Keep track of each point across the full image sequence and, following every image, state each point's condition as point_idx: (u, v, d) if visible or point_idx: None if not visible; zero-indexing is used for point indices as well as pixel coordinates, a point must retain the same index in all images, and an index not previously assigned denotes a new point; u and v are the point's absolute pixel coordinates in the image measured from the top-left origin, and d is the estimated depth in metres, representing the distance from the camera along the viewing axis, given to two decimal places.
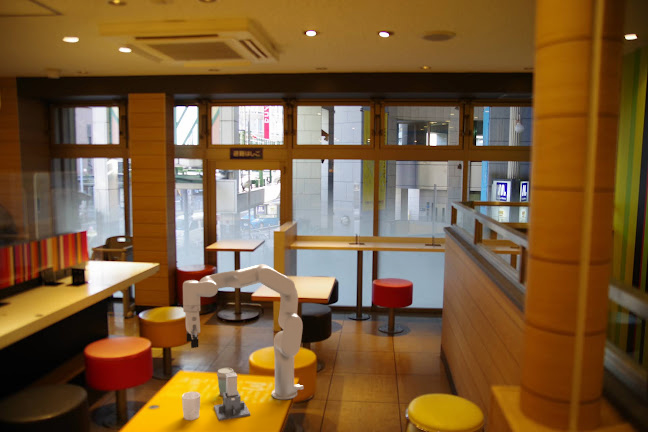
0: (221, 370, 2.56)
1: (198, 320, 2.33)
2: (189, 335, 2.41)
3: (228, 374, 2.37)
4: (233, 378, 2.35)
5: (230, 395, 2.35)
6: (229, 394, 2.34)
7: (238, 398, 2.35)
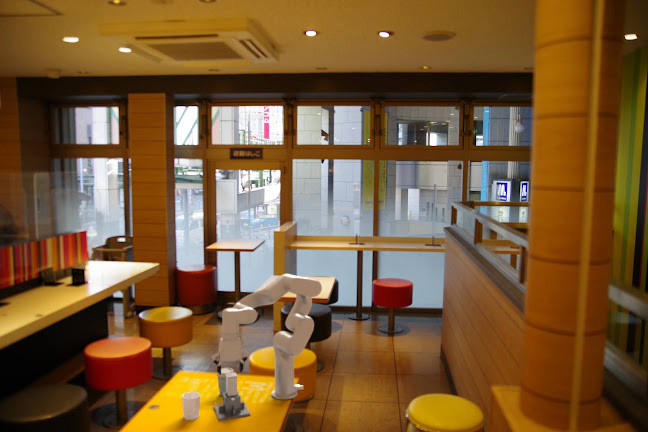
0: (221, 370, 2.56)
1: None
2: (220, 367, 2.34)
3: (228, 374, 2.37)
4: (233, 378, 2.35)
5: (230, 395, 2.35)
6: (229, 394, 2.34)
7: (238, 398, 2.35)
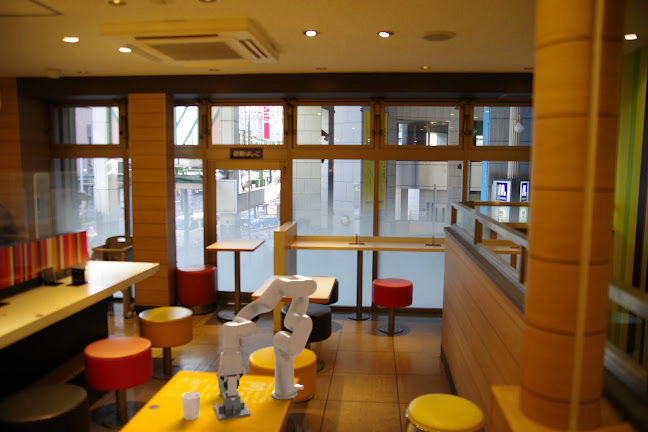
0: None
1: None
2: None
3: None
4: (233, 378, 2.35)
5: (230, 395, 2.35)
6: (229, 394, 2.34)
7: (238, 398, 2.35)
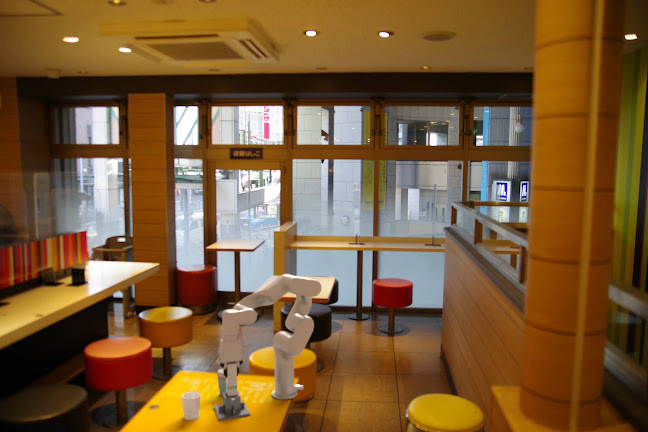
0: (221, 370, 2.56)
1: None
2: (226, 370, 2.35)
3: None
4: (233, 365, 2.34)
5: (230, 382, 2.34)
6: (229, 381, 2.34)
7: (238, 398, 2.35)
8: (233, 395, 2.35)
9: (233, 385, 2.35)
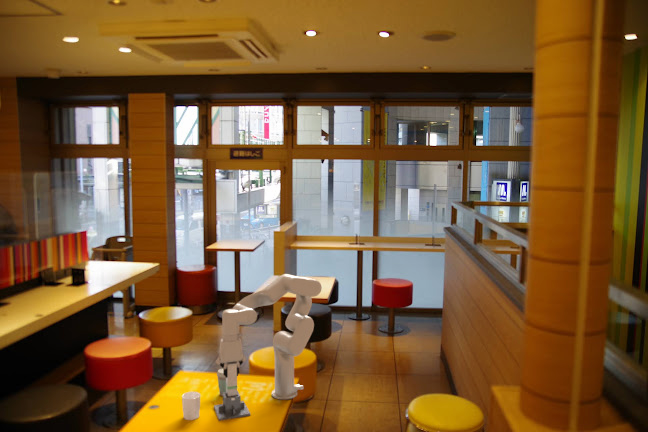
0: (221, 370, 2.56)
1: None
2: None
3: None
4: (233, 365, 2.34)
5: (230, 382, 2.34)
6: (229, 381, 2.34)
7: (238, 398, 2.35)
8: (233, 395, 2.35)
9: (233, 385, 2.35)
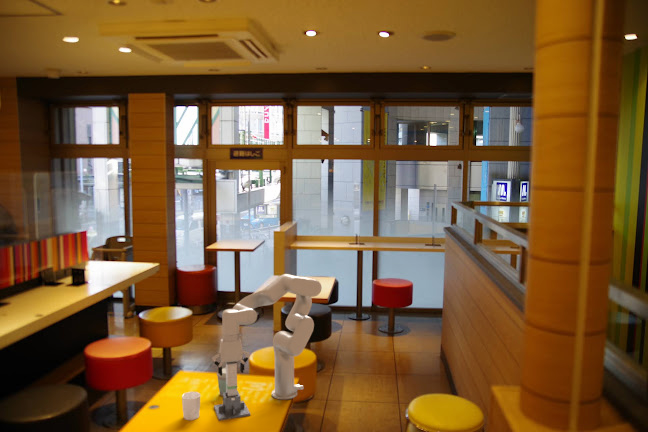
0: None
1: None
2: (221, 368, 2.34)
3: None
4: (233, 365, 2.34)
5: (230, 382, 2.34)
6: (229, 381, 2.34)
7: (238, 398, 2.35)
8: (233, 395, 2.35)
9: (233, 385, 2.35)
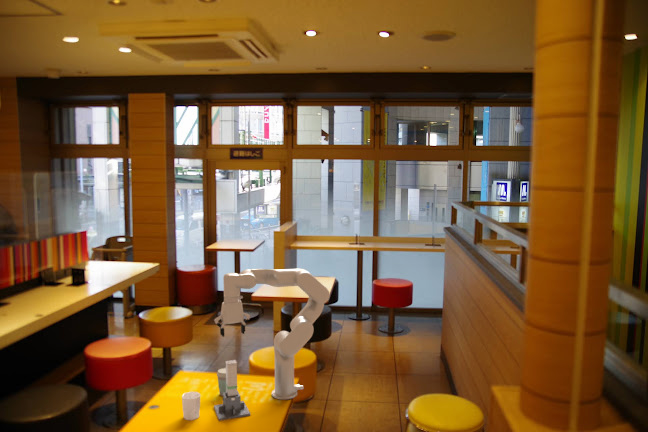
0: (221, 370, 2.56)
1: None
2: None
3: (228, 361, 2.36)
4: (233, 365, 2.34)
5: (230, 382, 2.34)
6: (229, 381, 2.34)
7: (238, 398, 2.35)
8: (233, 395, 2.35)
9: (233, 385, 2.35)
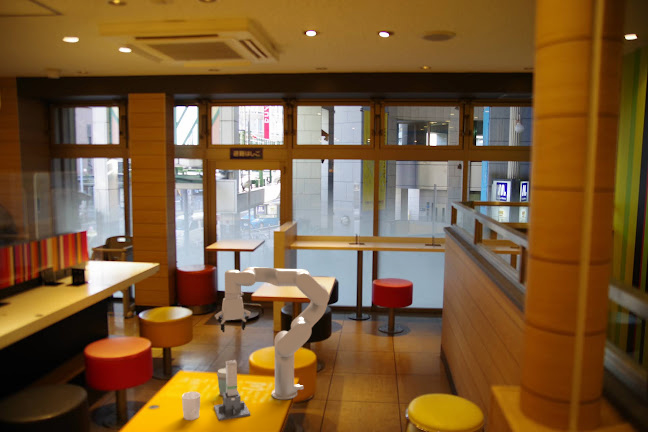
0: (221, 370, 2.56)
1: None
2: None
3: (228, 361, 2.36)
4: (233, 365, 2.34)
5: (230, 382, 2.34)
6: (229, 381, 2.34)
7: (238, 398, 2.35)
8: (233, 395, 2.35)
9: (233, 385, 2.35)
